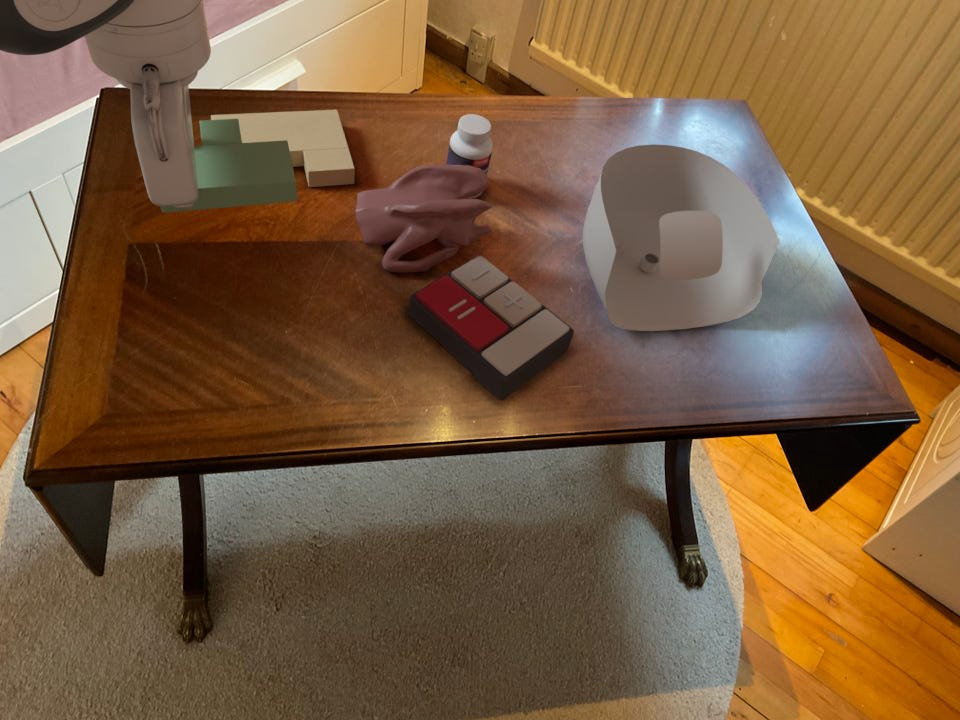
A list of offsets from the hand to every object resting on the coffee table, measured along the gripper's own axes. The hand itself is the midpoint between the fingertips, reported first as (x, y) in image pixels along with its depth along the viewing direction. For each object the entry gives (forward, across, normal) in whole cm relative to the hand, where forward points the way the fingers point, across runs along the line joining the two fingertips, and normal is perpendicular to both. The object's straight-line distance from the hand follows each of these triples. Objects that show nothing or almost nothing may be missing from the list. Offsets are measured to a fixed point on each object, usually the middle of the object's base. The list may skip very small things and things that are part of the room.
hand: (181, 174), depth 68 cm
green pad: (+2, +2, -4) cm, 5 cm away
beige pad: (+16, +21, -10) cm, 29 cm away
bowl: (+17, -4, -52) cm, 55 cm away
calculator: (+17, -10, -29) cm, 35 cm away
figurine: (+16, +4, -25) cm, 30 cm away
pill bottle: (+17, +14, -33) cm, 39 cm away
